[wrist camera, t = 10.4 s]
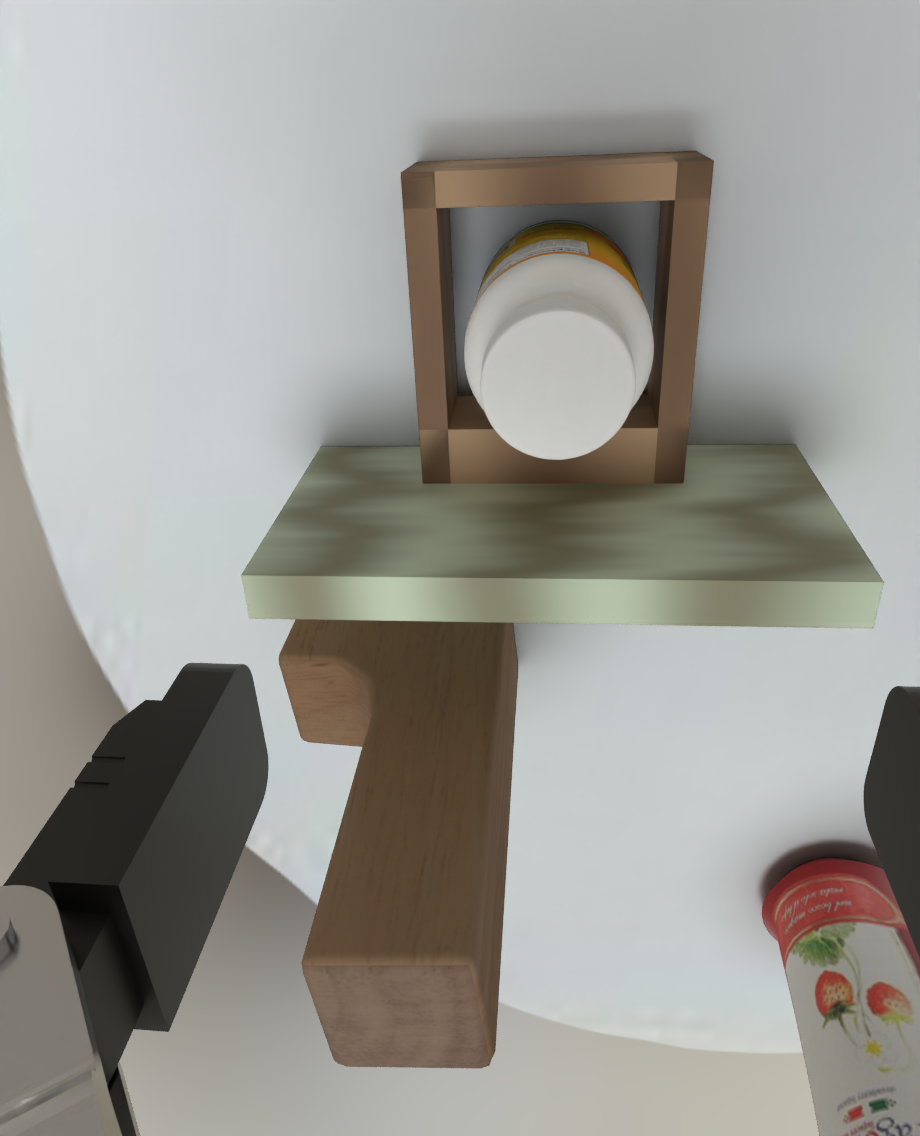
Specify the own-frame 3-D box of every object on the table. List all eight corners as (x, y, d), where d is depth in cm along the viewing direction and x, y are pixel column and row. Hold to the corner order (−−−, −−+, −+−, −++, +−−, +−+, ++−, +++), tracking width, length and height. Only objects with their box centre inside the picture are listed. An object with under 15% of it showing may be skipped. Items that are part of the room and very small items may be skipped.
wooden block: (324, 679, 40) (177, 1070, 24) (302, 596, 38) (124, 967, 22) (519, 668, 38) (496, 1075, 23) (508, 581, 36) (474, 966, 21)
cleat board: (843, 145, 27) (977, 180, 18) (789, 481, 33) (873, 628, 24) (284, 167, 29) (169, 208, 20) (325, 481, 35) (249, 618, 26)
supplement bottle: (642, 362, 31) (673, 472, 23) (494, 385, 32) (472, 498, 24) (628, 204, 29) (658, 261, 20) (468, 233, 29) (433, 300, 21)
